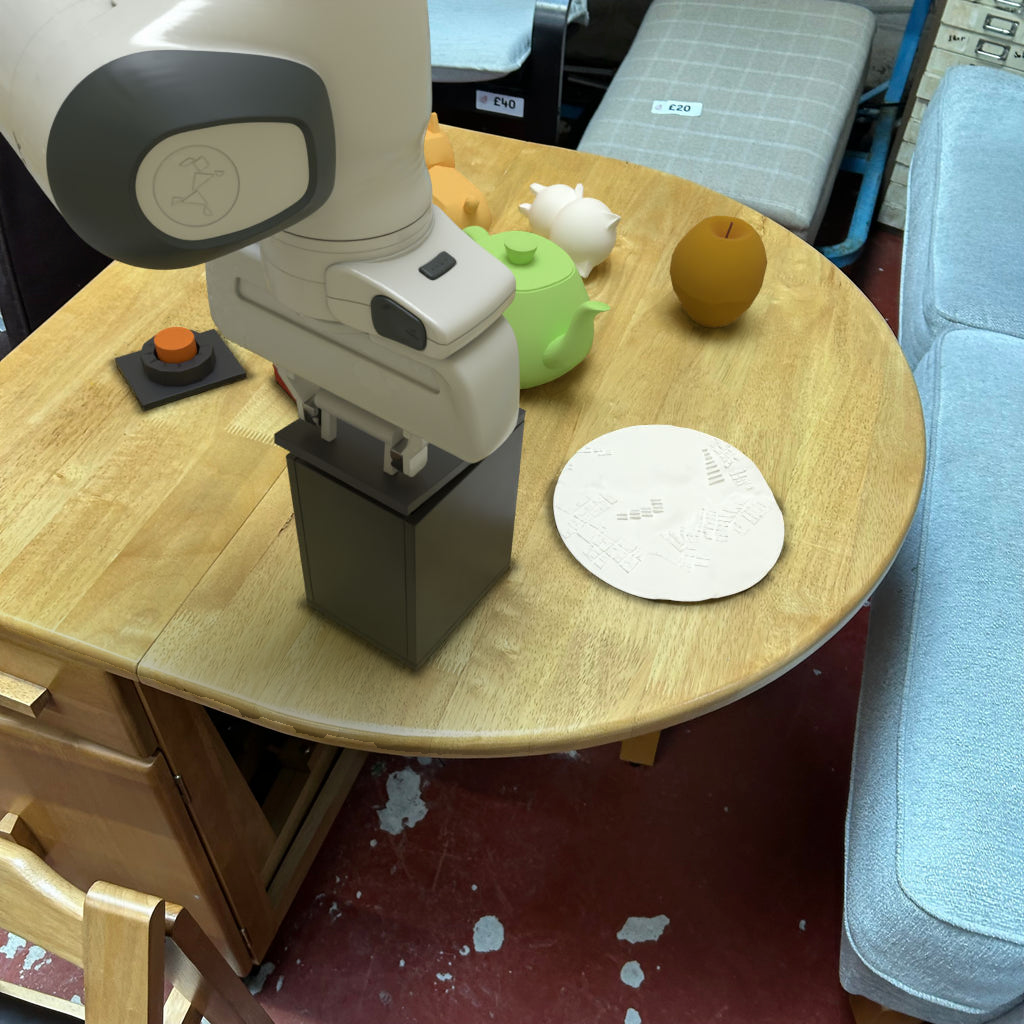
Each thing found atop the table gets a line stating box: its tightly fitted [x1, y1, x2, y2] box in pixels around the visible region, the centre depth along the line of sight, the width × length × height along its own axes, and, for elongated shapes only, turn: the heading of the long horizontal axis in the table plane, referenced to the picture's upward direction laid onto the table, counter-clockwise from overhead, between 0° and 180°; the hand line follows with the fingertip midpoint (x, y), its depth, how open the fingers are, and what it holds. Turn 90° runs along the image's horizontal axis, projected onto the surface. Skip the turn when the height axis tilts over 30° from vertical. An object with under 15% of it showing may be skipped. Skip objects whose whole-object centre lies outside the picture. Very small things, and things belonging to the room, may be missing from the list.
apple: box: [669, 215, 768, 328], centre depth 100 cm, size 10×10×12 cm
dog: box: [424, 111, 493, 233], centre depth 107 cm, size 8×20×13 cm, turn 33°
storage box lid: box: [273, 387, 527, 516], centre depth 62 cm, size 13×11×5 cm
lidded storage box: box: [285, 419, 525, 672], centre depth 70 cm, size 13×11×16 cm
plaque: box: [552, 424, 785, 602], centre depth 83 cm, size 20×20×2 cm
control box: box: [114, 328, 248, 411], centre depth 91 cm, size 10×8×2 cm
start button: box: [154, 326, 197, 363], centre depth 90 cm, size 4×4×2 cm
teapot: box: [462, 226, 612, 390], centre depth 92 cm, size 22×15×13 cm
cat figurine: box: [518, 182, 622, 279], centre depth 109 cm, size 9×11×12 cm
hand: (363, 442), depth 59 cm, fingers closed on storage box lid, 6 cm apart
